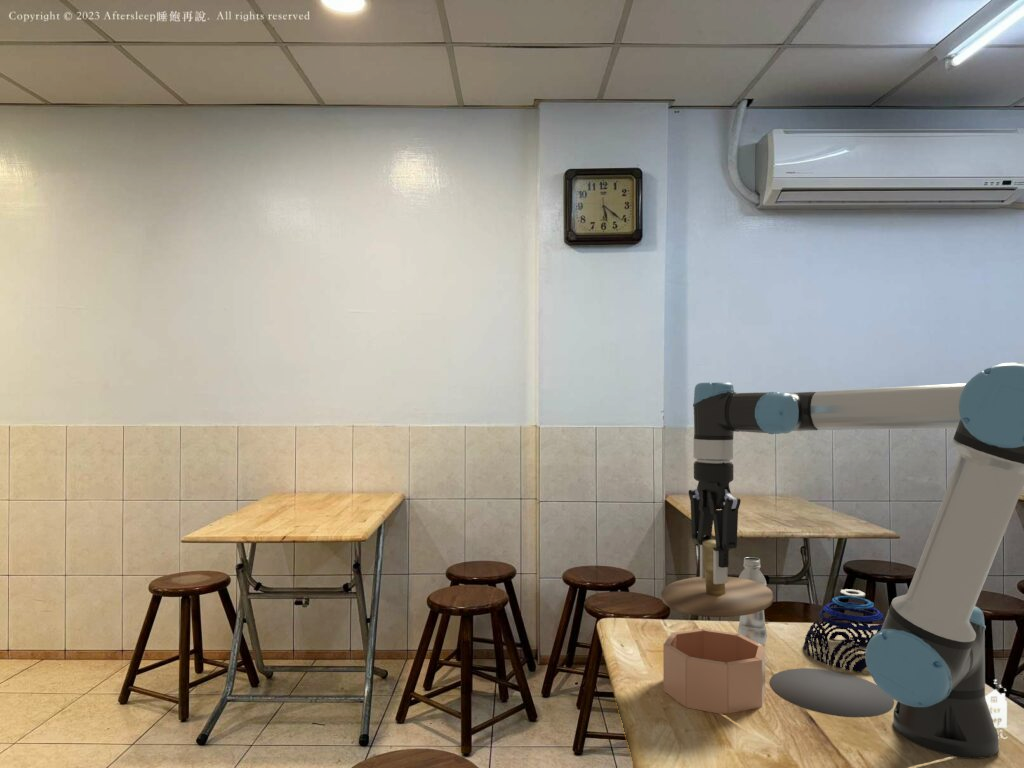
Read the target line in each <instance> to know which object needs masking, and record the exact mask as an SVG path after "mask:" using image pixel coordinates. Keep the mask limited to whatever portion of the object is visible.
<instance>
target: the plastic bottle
mask: <svg viewBox="0 0 1024 768" xmlns="http://www.w3.org/2000/svg"><path fill="white" fill-rule="evenodd" d="M743 567H744V569H743V570H742V571H741V572H740V573H739V576H738V578H743V579H748V580H752V581H755V582H758V583H761V584H763V585H765V586H767V580H766V578H765V576H764V574H763V573H762V571H761V570H760V568H761V559H760V558H759V557H753V556H752V557H751V556H747V557H744V558H743ZM765 618H766V617H765V609H764V610H762V611H760V612H757V613H753V614H749V615H743V616H739V623H738V627H737V634H741V635H743V636H745V637H747V638H749V639H751V640H753V641H755V642H757V643H759V644H761V645H763V646H765V644H766V643H767V638H768V632H767V631H768V630H767V627H766V619H765Z"/></svg>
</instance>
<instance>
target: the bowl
mask: <svg viewBox="0 0 1024 768" xmlns="http://www.w3.org/2000/svg"><path fill="white" fill-rule="evenodd" d="M662 648H663V649H662V650H663V692H664V693H665V694H666V695H668V696H670V698H672V699H673V700H675V701H677V702H678V703H679V704H680V705H682V706H684V707H685V708H687V709H692V710H696V711H697V710H698V711H703V712H709V713H712V714H713V713H714V714H719V715H724V716H726V714H734V713H738V712H744V711H748V710H749V711H750V710H753V709H758V708H763V704H764V700H765V694H766V645H761V644H759V643H757V642H755V641H753V640H751V639H749V638H747V637H745V636H743V635H741V634H738V632H737V633H736V632H729V631H721V630H716V629H715V630H714V629H708V628H696V629H689V630H683V631H681V630H680V631H675V632H671V633H670V634H669V636H668V637H667V639H666V640H665V642H664V643H663V647H662Z"/></svg>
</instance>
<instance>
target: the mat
mask: <svg viewBox="0 0 1024 768" xmlns="http://www.w3.org/2000/svg"><path fill="white" fill-rule="evenodd" d="M769 686H770V688H771V690H772V691H773V692H774V693H775V694H776V695H777V696H779V697H780V698H781V699H783V700H785V701H786V702H789V703H790V704H792V705H796V706H798V707H799V708H803V709H806V710H809V711H813V712H816V713H819V714H820V713H821V714H824V715H830V716H836V717H846V718H870V717H878V716H881V715H884V714H887V713H888V712H890V711H892V710H893V708H894V705H895V700H894V699H893V698H891V697H890V696H888V695H887V694H886V693H884V692H883V691H882V690H881V689H880V688H879V687H878V685H877V684H876V683H875V682H872V681H869V680H868V679H864V678H861V677H859V676H856V675H852V674H849V673H845V672H840V671H836V670H830V669H823V668H811V667H810V668H807V667H805V668H804V667H803V668H791V669H789V668H788V669H785V670H782V671H779V672H777V673H775V674H773V675H772V676H771V677H770V679H769Z"/></svg>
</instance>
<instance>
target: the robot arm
mask: <svg viewBox="0 0 1024 768" xmlns="http://www.w3.org/2000/svg"><path fill="white" fill-rule="evenodd" d="M693 392H694V393H693V404H692V407H693V429H694V430H693V435H694V436H693V454H692V455H693V458H694V459H695V460H696V461H694V462H693V479H694V480H695V481H697V482H698V483H697V487H696V488H695V489H689V490H688V496H689V500H690V521H691V522H690V523H691V524H690V525H691V538H692V539H693V540H696V542H697V544H698V557H699V558H698V559H699V577H700V578H702V579H705V569H704V556H703V544H702V542H703V541H705V540H712V536H713V535H712V533H713V529H714V538H715V539H714V540H716V547H715V548H713V549H714V550H713V583H714V584H724V583H727V577H728V567H729V557H730V556H729V553H730V552H729V551H730V550H733V549H737V547H738V525H739V523H738V522H739V508H740V506H741V501H742V500H741V498H740V497H735V496H733V495H732V493H731V488H730V483H731V482H733V481H734V464H733V462H731V461H732V460H733V459H734V432H735V433H736V432H745V433H756V434H757V433H759V434H767V435H774V434H775V435H780V434H789V433H791V432H799V431H800V432H801V431H841V430H842V431H848V430H849V431H850V430H851V431H853V430H859V431H861V430H863V431H864V430H870V431H871V430H931V429H932V430H936V429H937V430H939V429H940V430H944V429H948V430H949V429H953V430H954V429H956V430H955V434H953V435H954V436H953V439H952V442H953V443H954V446H955V447H956V448H957V450H958V454H959V457H958V460H957V461H956V464H955V467H954V469H953V472H952V473H951V476H950V479H949V481H948V485H947V486H946V487H947V488H946V489H945V493H944V495H943V498H942V500H941V504H940V506H939V509H938V511H937V514H936V517H935V519H934V522H933V524H932V526H931V530H930V532H929V535H928V537H927V540H926V543H925V546H924V549H923V551H922V553H921V556H920V559H919V562H918V564H917V567H916V569H915V572H914V574H913V577H912V579H911V582H910V585H909V587H908V590H907V592H906V594H902V595H898V596H896V597H894V598H893V599H892V601H891V603H890V606H889V608H888V610H887V613H886V616H885V618H884V619H885V621H884V620H883V621H884V623H883V622H882V623H883V626H882V628H881V630H880V631H879V632H877V631H876V632H875V633H873V634H874V635H873V636H872V638H871V639H870V641H869V643H868V645H867V647H865V650H866V652H864V653H865V656H864V658H865V660H866V665H867V667H866V668H867V670H868V673H870V677H871V678H872V680H873V683H874V684H876V685H878V687H879V688H880V689H881V690H882V691H883V692H884V693H886V694H887V695H888V696H890V697H891V698H893V700H894V701H896V706H895V707H894V709H893V717H892V718H893V727H894V729H895V730H896V732H897V733H898V734H899V735H900V736H902V737H903V738H904V739H906V740H908V741H910V742H911V743H913V744H915V745H917V746H920V747H922V748H924V749H927V750H931V751H933V752H937V753H941V754H945V755H950V756H952V757H954V758H960V759H961V758H963V759H984V758H989V757H992V756H994V755H996V754H997V753H998V752H999V748H1000V747H999V733H998V730H997V728H996V726H995V724H994V721H993V717H992V714H991V711H990V709H989V705H988V703H987V699H986V647H985V646H986V642H985V641H986V636H985V635H986V634H985V631H986V628H987V626H986V625H985V623H986V622H985V616H984V612H983V610H982V609H980V607H978V606H976V605H977V603H978V599H979V597H980V594H981V592H982V590H983V587H984V584H985V582H986V580H987V578H988V574H989V572H990V570H991V567H992V566H993V562H994V560H995V557H996V554H997V552H998V550H999V547H1000V545H1001V543H1002V540H1003V537H1004V535H1005V533H1006V531H1007V528H1008V525H1009V524H1010V520H1011V518H1012V516H1013V513H1014V511H1015V508H1016V506H1017V503H1018V501H1019V498H1020V496H1021V493H1022V491H1023V488H1024V362H1020V361H1014V362H1013V361H1012V362H1003V363H999V364H995V365H993V366H990V367H987V368H985V369H983V370H981V371H979V372H977V373H976V374H975V375H974V376H973V377H971V378H970V379H969V381H968V382H965V383H964V382H963V383H961V382H960V383H944V384H930V385H929V384H927V385H912V386H909V385H907V386H895V387H894V386H893V387H892V386H891V387H890V386H888V387H878V388H877V387H875V388H873V387H872V388H859V389H858V388H857V389H841V390H838V389H837V390H823V391H805V392H804V391H803V392H802V391H800V392H798V391H797V392H779V391H769V392H768V391H767V392H737V391H736V392H735V389H734V385H733V384H732V382H699V383H697V384H695V386H694V391H693Z"/></svg>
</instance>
